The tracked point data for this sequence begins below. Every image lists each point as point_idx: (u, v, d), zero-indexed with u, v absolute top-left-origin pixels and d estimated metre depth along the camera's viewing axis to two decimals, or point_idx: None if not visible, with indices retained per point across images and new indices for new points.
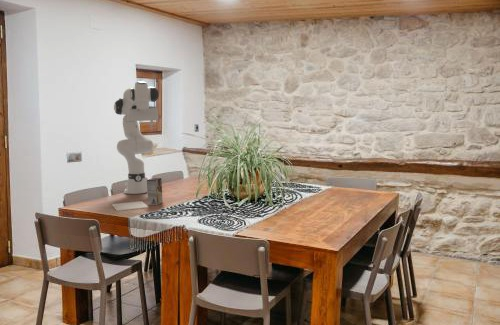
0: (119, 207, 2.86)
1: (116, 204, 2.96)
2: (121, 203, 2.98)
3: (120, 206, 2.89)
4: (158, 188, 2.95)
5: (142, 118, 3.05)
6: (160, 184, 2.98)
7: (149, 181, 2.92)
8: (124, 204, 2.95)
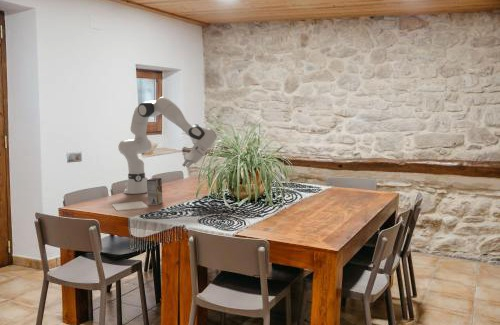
0: (119, 207, 2.86)
1: (116, 204, 2.96)
2: (121, 203, 2.98)
3: (120, 206, 2.89)
4: (158, 188, 2.95)
5: None
6: (160, 184, 2.98)
7: (149, 181, 2.92)
8: (124, 204, 2.95)
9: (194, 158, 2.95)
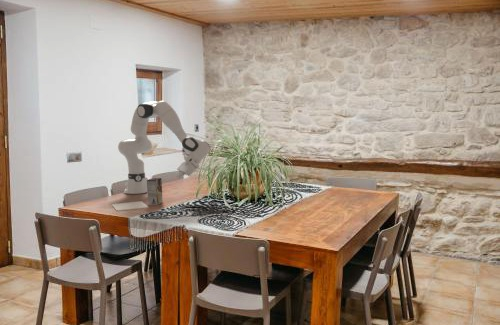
0: (119, 207, 2.86)
1: (116, 204, 2.96)
2: (121, 203, 2.98)
3: (120, 206, 2.89)
4: (158, 188, 2.95)
5: None
6: (160, 184, 2.98)
7: (149, 181, 2.92)
8: (124, 204, 2.95)
9: (188, 170, 2.95)
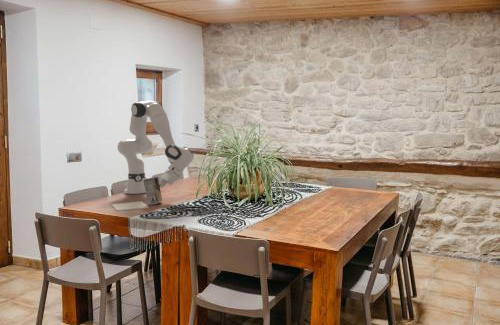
0: (119, 207, 2.86)
1: (116, 204, 2.96)
2: (121, 203, 2.98)
3: (120, 206, 2.89)
4: (156, 187, 2.95)
5: None
6: (157, 183, 2.99)
7: (146, 181, 2.93)
8: (124, 204, 2.95)
9: (170, 179, 2.91)
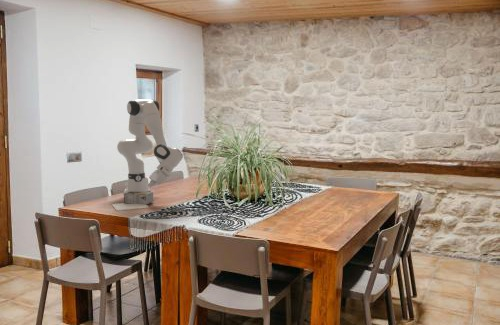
0: (119, 207, 2.86)
1: (116, 204, 2.96)
2: (121, 203, 2.98)
3: (120, 206, 2.89)
4: (134, 193, 2.98)
5: None
6: (134, 192, 3.02)
7: (125, 200, 2.97)
8: (124, 204, 2.95)
9: (158, 179, 2.88)
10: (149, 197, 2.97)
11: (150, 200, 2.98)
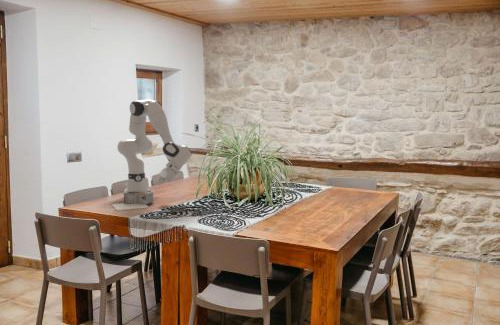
0: (119, 207, 2.86)
1: (116, 204, 2.96)
2: (121, 203, 2.98)
3: (120, 206, 2.89)
4: (134, 193, 2.98)
5: None
6: (134, 192, 3.02)
7: (125, 200, 2.97)
8: (124, 204, 2.95)
9: (168, 177, 2.90)
10: (149, 197, 2.97)
11: (150, 200, 2.98)
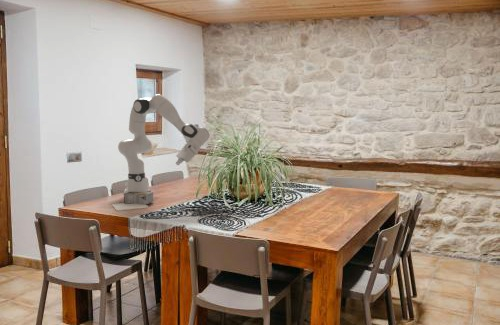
0: (119, 207, 2.86)
1: (116, 204, 2.96)
2: (121, 203, 2.98)
3: (120, 206, 2.89)
4: (134, 193, 2.98)
5: None
6: (134, 192, 3.02)
7: (125, 200, 2.97)
8: (124, 204, 2.95)
9: (187, 157, 2.95)
10: (149, 197, 2.97)
11: (150, 200, 2.98)
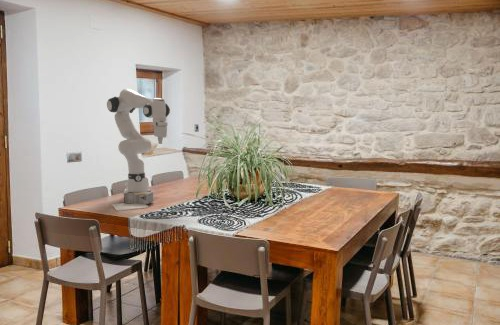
0: (119, 207, 2.86)
1: (116, 204, 2.96)
2: (121, 203, 2.98)
3: (120, 206, 2.89)
4: (134, 193, 2.98)
5: None
6: (134, 192, 3.02)
7: (125, 200, 2.97)
8: (124, 204, 2.95)
9: (162, 134, 2.99)
10: (149, 197, 2.97)
11: (150, 200, 2.98)
